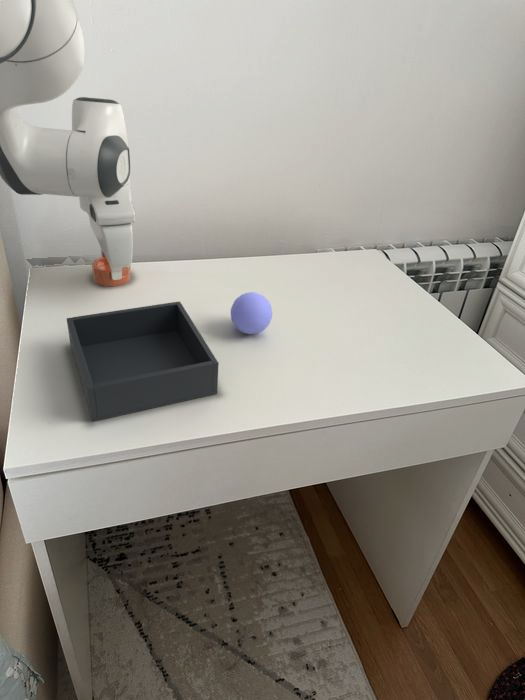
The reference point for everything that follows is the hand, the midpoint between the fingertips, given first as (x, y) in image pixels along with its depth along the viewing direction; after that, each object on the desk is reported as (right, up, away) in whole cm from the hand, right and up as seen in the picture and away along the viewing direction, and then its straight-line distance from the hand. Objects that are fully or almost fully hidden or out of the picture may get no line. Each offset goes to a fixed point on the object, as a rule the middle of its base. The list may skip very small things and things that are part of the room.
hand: (111, 268), depth 101 cm
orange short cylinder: (0, -2, +1) cm, 2 cm away
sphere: (+26, -12, -10) cm, 31 cm away
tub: (+10, -19, -21) cm, 30 cm away
